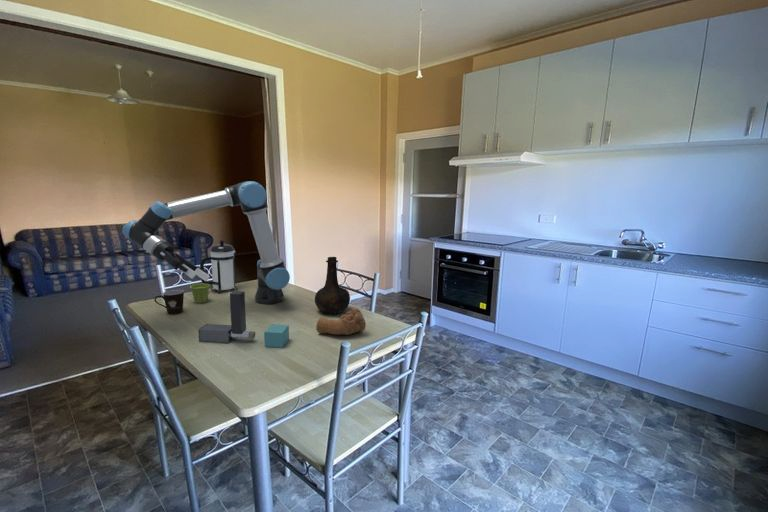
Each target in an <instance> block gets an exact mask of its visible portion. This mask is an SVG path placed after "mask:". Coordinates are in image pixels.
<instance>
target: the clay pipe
mask: <svg viewBox="0 0 768 512" xmlns="http://www.w3.org/2000/svg"><path fill="white" fill-rule="evenodd" d="M364 317H365V316H363V314H362V311H361V310H360V309H358V308H356V307H353V308H352V309H351V310H349V311H347V312H345V314H342V315H341V316H339V319H329V318H326V317H320V318H319V319H318V320H317V322H316V327H315V329H316V332H317V333H318V334H329V335H336V336H337V335H338V336H339V335H344V334H345V336H349V335H348V334H351V335H353V334H356V332H357V333H359V332H358V331H362V332H364V331H365V329H366V320H365V318H364ZM363 330H364V331H363ZM352 333H353V334H352Z"/></svg>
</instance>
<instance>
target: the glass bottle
mask: <svg viewBox="0 0 768 512" xmlns="http://www.w3.org/2000/svg"><path fill="white" fill-rule="evenodd" d="M325 262H326V263H327V268H326V269H327V270H326V278H325V283H324V286H322V288H320V289H318V290H317V292H316V293H315V295H314V303H315V305H316V307H317V309H318V310H320V312H322V313H324V312H325V314H328V313H336V314H339V313H338V312H340V313H342V312H343V311H345V310H346V309H347V308H348V307H349V305H350V302H351V301H350V300H351V295H350V292H349V291H348V289H346V288H343V287H341V286H340V285H339V281H338V271H337V263H338V262H339V260H337V257H336V256H328V257H327V260H325ZM341 311H342V312H341Z"/></svg>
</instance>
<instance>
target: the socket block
mask: <svg viewBox="0 0 768 512" xmlns="http://www.w3.org/2000/svg"><path fill="white" fill-rule="evenodd" d="M263 337H264V347H267V348H268V347H269V348H281V347H282V348H283V347H284V346H285V345H286V344H287V342H288V341H289V340H290V325H289V324H271V325H269V326H268V328H267V329H266V330H264V331H263ZM288 339H289V340H288ZM287 340H288V341H287ZM284 344H285V345H284ZM283 345H284V346H283Z"/></svg>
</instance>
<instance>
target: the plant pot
mask: <svg viewBox="0 0 768 512" xmlns="http://www.w3.org/2000/svg"><path fill="white" fill-rule="evenodd" d="M210 287H211V285H209V284H204V283H197V284H196V283H195V284H191V285H190V286H189V288H190V291H191V292H192V296H193V301H194V303H197V304H203V303H205V302H206V303H207V302H208V299H209V298H208V297H209V290H210Z"/></svg>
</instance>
